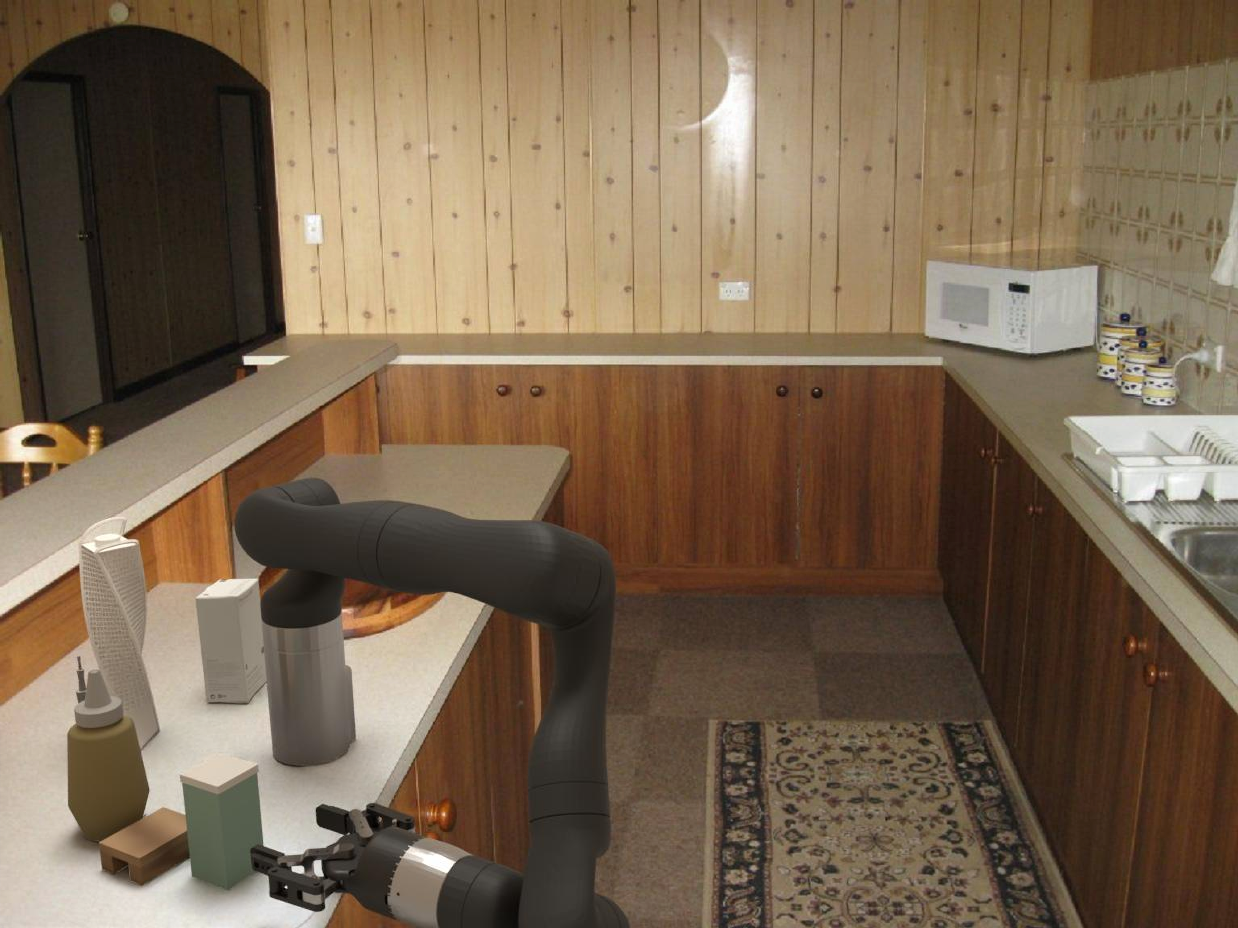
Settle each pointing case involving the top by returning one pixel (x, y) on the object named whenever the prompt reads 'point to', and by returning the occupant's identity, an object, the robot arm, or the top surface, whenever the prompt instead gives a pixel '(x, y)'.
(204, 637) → the skincare box
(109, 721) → the squeeze bottle
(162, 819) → the brown wooden bridge block
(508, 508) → the top surface
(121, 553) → the skyscraper
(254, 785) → the tin
